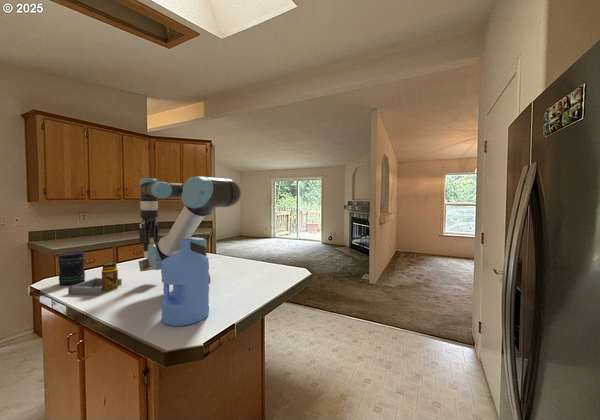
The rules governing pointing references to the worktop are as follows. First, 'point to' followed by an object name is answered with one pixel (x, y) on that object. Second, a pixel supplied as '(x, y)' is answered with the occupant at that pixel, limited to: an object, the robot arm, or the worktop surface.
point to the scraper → (146, 260)
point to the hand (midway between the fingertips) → (149, 256)
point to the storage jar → (71, 268)
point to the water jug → (185, 287)
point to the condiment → (109, 277)
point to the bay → (88, 287)
